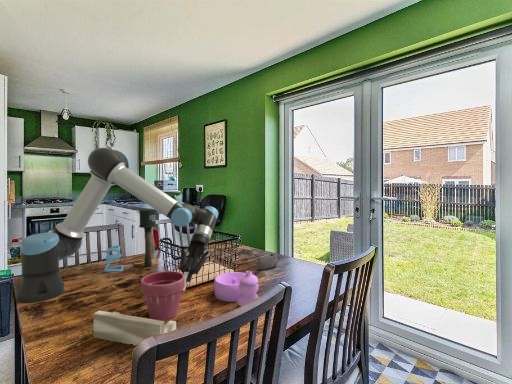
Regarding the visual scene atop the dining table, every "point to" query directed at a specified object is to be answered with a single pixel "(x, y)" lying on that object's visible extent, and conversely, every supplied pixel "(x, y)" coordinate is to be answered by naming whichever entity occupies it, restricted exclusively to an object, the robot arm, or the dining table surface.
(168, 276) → the plant pot
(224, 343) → the dining table surface
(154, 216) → the potato masher grenade
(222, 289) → the container set
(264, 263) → the perforated stone tool
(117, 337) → the corner stop
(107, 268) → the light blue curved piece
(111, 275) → the dining table surface
